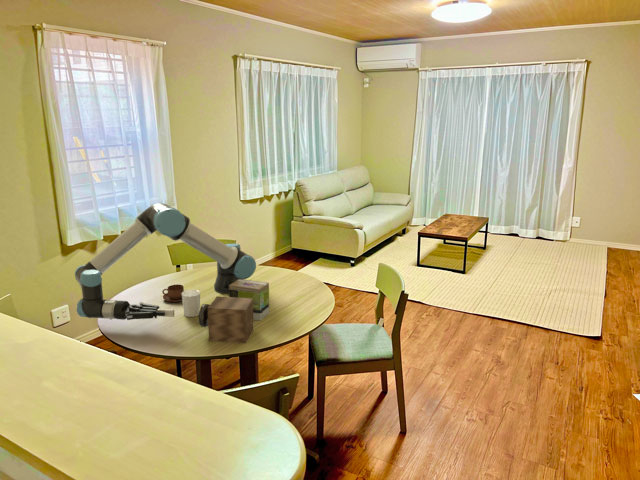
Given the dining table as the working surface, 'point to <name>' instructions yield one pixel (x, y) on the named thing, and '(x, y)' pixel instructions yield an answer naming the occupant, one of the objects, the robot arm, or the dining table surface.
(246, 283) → the tea box
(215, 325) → the brown wooden open box
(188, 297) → the white cup
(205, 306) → the plunger
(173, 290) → the cup and saucer
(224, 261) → the robot arm
